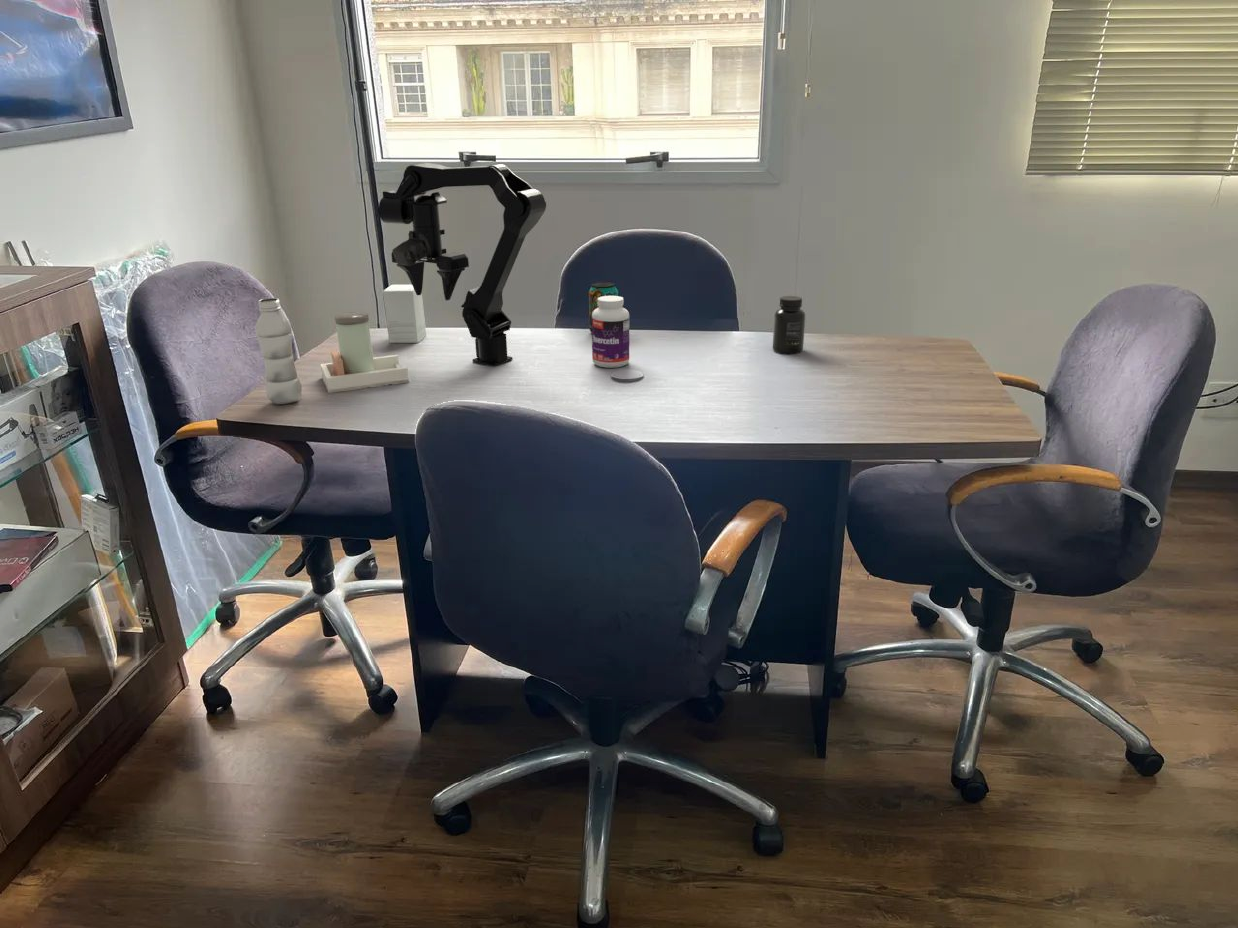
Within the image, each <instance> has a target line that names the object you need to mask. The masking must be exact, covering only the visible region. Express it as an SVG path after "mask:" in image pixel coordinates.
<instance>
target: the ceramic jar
mask: <svg viewBox="0 0 1238 928" xmlns="http://www.w3.org/2000/svg"><path fill="white" fill-rule="evenodd" d="M334 323H335V327H336V328H335V329H336V334H337V341H338V349H339V355H340V357H341V358H342V360H343V367H344V374H345V375H348V374H356V373H363V372H371V371H375V367H374V360H373V358H374V353H373V346H372V344H373V343H372V339H371V337H372V336H371V329H370V318H369V313H366V312H361V311H359V312H358V311H356V312H355V311H354V312H344V313H340V314H337V315H335V316H334Z"/></svg>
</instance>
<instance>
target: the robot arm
mask: <svg viewBox="0 0 1238 928" xmlns="http://www.w3.org/2000/svg"><path fill="white" fill-rule="evenodd" d="M474 186H475V187H476V186H488V187H489V188H491V189H492V191H493V193H494V196H495V197H496V200H497V201H498V202H499V203H500V205H502V207H504V209H503V214H502V217H503V218H502V219H503V229H502V232H501V235H500V238H499V239H498V243H497V246H496V247H495V250H494V252H493V255H492V257H491V260H490V262H489V265H488V267H487V270H486V272H485V275H484V277H483V278H482V279H483V280H482V282H481V285H480V286H478V287H475V288H472V289H470V290H468V291H467V292H466V295H465V299H464V302H463V304H462V305H461V306H460V307H461V308H462V311H461V317H462V318H463V320H464V323H465V324H466V326H467V329H468V332H469V334H470V337H471V338H474V339H475V340H474V341H475V353H476V355H475V356H476V357H474V358H472V362H473V363H477V364H481V365H482V364H483V365H487V366H491V367H495V366H498V365H500V364H503V363H507V362H509V361H511V360H513V358H514V357H513V356H508V344H507V343H508V342H507V334H506V333H504V332H507V331H510V329H511V324H512V320H511V319H510V318H509V317H508V316H507V315H506V313H504V311H503V305H504V301H503V290H504V289H505V286H506V284H507V281H508V279H509V276H510V274H511V272H512V271H513V267H514V265H515V263H516V260H517V258H518V255H519V252H520V250H521V248H522V246H523V243H524V242H525V238H526V236H527V235H528V234H529V233H530V232H531V230H532V229H534V227H535V226H536V225H537V224H538V222H539V220H540V219H541V217H542V216H543V215H544V213H545V211H546V209H547V202H546V200H545V199H546V198H545V197H544V195H543V194H542V193H541V192H540V190H537V189H535V188H533V187H532V185H531V184H530V183H528V182H527V180H525V179H522V178H521V177H519V176H518V175H517V174H515V173H514V172H513V171H512V169H510V168H509V167H508V166H507V165H505V164H502V163H498V164H491V165H480V166H478V165H477V166H461V167H460V166H459V167H449V166H445V165H442V164H439V163H432V162H425V163H418V164H410V165H408V166H406V167H405V170H404V172H403V176H402V180H401V182H400V184H399V185H398V188H397V190H396V191H395V190H384V191H383V192H382V198H380V201H379V203H378V208H377V212H378V216H379V218H380V220H381V221H382V222H383V223H385V224H396V225H397V224H398V225H401V224H402V225H410V224H412V228H413V229H412V230H409V232H408V239H407V240H405V241H402V242H401V243H400V244H399V245H397V246H395V247H394V248H392V250H391V251H392V252H391V261H392V263H395V265H396V266H397V267H399V269H400V268H401V269H402V270H403V271H404V272H405V273H406V275H407V277H408V279H409V280H410V283H411V285H412V286H413V288H414V290H415V292H416V295H421V293H422V294H423V292H422V291H423V288H424V287H423V284H424V272H425V271H424V270H425V263H430V264H436V267H437V268H438V270H436V273H437V274H438V275H439V276H440V277H441V282H442V289H443V295H444V299H445V301H450V300H451V298H452V295H453V293H454V289H455V288H456V285H457V283H458V280H459V278H460V276H461V274H462V272H463V271H466V268H469V265H470V263H469V257H468V256H467V255H466V253H461V252H450V253H447V248H443V247H442V246H443V245H442V244H443V243H442V235H443V236H444V235H445V233H446V232H445V228H441V221H440V213H439V205H443V204H444V205H445V204H447V202H448V200H447V199H446V198H445V197H443V196H442V195H441V194H440V192H439V191H437V190H441V189H445V188H451V187H474ZM433 191H434V192H433ZM428 192H431V194H430V195H426V194H427V193H428ZM415 197H416V199H415Z"/></svg>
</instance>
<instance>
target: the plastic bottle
mask: <svg viewBox="0 0 1238 928" xmlns="http://www.w3.org/2000/svg"><path fill="white" fill-rule="evenodd" d="M257 302H258V303H257V304H258V307H259V308H258V311H259V312H260V315H259V317H258V319H257V321H256V323H255V326H254V332H255V335H256V338H257V342H258V345H259V348H260V351H261V354H262V357H263V363H264V372H265V393H266V397H267V399H268V400H269V401H270V402H271V403H272V404H277V405H284V404H285V405H286V404H291V403H294V402H297V401H299V400H300V399H301V397H302V391H303V390H302V384H301V381H300V378H299V376H298V372H297V368H296V365H295V360H294V355H293V354H294V353H293V345H292V344H293V343H292V341H293V340H292V338H293V336H292V325H291V324H290V321H289V320H288V319H287V317H286V316H285V315H284V314H283V313H282V312H281V310H282V307H281V303H280V298H277V297H266V298H262V299H259V300H258V301H257Z"/></svg>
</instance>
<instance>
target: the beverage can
mask: <svg viewBox="0 0 1238 928" xmlns="http://www.w3.org/2000/svg"><path fill="white" fill-rule="evenodd" d="M590 286H591V287H590V289H589V290H588V309H589V331H590V333H592V313H593V311H594V310H595V309H597V308H599V306H598V304H597V303H598V298H599V297H602V296H619V290H618V288H617V287H616V283H614V282H611V281H598V282H597V281H596V282H593V283H591V285H590Z"/></svg>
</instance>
